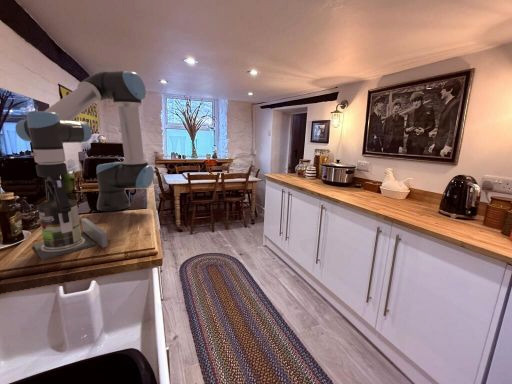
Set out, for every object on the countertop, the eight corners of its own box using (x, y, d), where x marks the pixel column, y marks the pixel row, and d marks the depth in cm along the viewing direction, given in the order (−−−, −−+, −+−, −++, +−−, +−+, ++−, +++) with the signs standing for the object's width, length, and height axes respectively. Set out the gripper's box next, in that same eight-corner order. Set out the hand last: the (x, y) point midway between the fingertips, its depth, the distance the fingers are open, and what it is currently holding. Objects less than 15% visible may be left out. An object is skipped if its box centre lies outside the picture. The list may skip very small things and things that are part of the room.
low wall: (82, 230, 98) (81, 218, 97) (87, 229, 99) (85, 217, 98) (102, 247, 84) (101, 233, 82) (107, 246, 85) (106, 232, 84)
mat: (33, 246, 84) (33, 243, 84) (82, 234, 94) (81, 232, 94) (41, 259, 75) (41, 257, 75) (94, 245, 85) (94, 242, 85)
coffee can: (58, 252, 78) (50, 208, 75) (36, 246, 81) (28, 205, 78) (89, 239, 87) (84, 200, 84) (69, 235, 91) (63, 197, 88)
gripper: (28, 160, 84) (39, 220, 88) (43, 167, 68) (56, 240, 72) (56, 159, 89) (65, 215, 94) (76, 165, 73) (86, 233, 78)
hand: (61, 226), depth 83 cm, fingers open, 13 cm apart
